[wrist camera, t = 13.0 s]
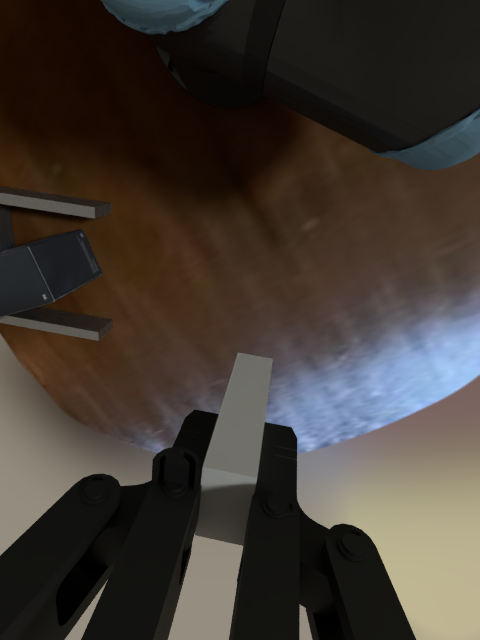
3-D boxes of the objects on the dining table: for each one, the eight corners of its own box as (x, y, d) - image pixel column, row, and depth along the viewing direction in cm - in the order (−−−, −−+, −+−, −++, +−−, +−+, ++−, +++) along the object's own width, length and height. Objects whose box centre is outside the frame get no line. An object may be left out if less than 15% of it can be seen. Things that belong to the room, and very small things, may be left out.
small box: (82, 225, 47) (27, 243, 38) (104, 274, 49) (58, 303, 40) (13, 248, 50) (-55, 270, 40) (37, 294, 52) (-22, 326, 42)
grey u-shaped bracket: (-2, 185, 47) (-42, 190, 41) (110, 202, 45) (85, 209, 40) (14, 310, 53) (-19, 327, 48) (112, 327, 52) (90, 347, 47)
